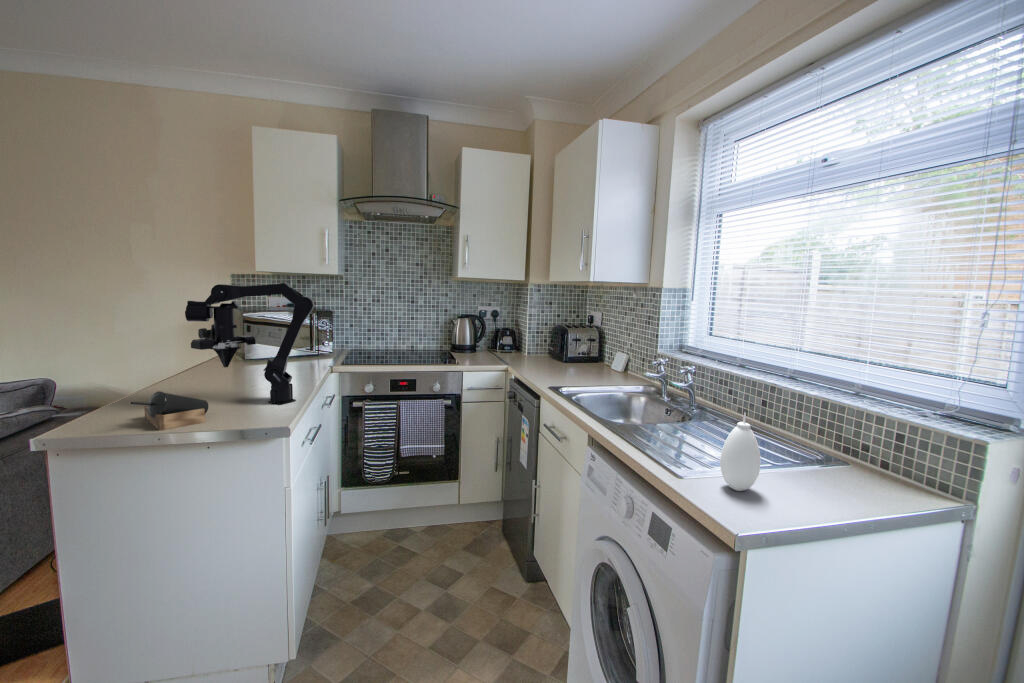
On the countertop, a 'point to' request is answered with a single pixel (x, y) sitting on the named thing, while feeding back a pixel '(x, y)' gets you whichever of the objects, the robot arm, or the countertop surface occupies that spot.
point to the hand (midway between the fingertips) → (225, 367)
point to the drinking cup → (172, 404)
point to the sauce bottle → (740, 457)
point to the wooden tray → (176, 418)
